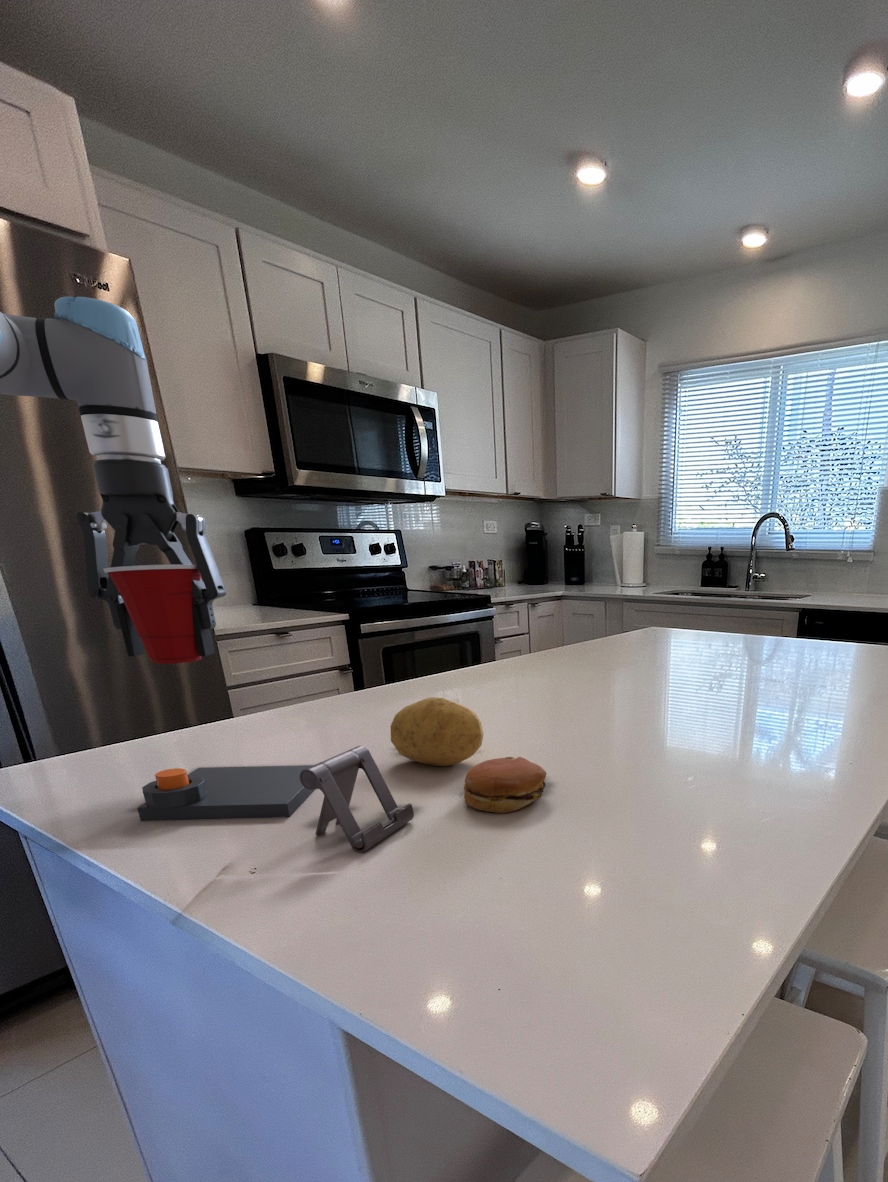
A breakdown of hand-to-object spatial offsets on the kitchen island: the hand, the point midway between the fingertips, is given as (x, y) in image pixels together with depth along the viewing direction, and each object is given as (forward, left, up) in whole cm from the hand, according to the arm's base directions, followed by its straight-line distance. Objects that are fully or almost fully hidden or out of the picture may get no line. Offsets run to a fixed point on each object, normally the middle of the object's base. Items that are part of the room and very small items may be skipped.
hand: (172, 654), depth 86 cm
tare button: (+7, -18, -12) cm, 23 cm away
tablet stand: (+29, -26, -15) cm, 41 cm away
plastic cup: (0, 0, -1) cm, 1 cm away
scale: (+12, -14, -15) cm, 23 cm away
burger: (+44, -17, -15) cm, 49 cm away
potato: (+34, -2, -15) cm, 37 cm away
